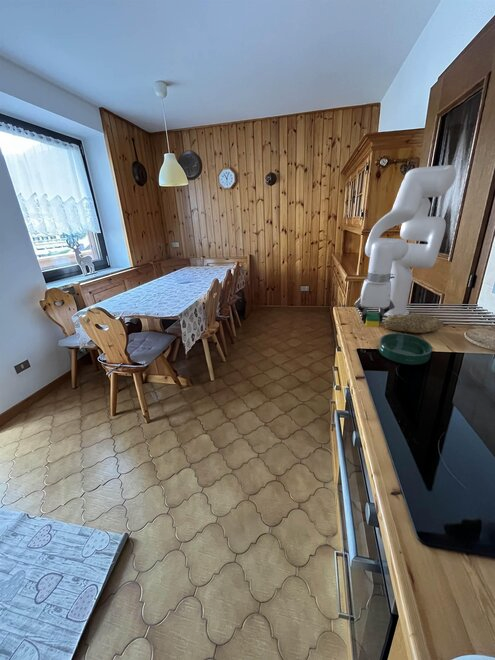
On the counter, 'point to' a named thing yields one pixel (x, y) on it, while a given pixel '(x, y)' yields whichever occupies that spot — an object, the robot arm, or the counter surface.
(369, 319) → the small sponge
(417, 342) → the bowl
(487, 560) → the counter surface
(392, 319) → the sponge
